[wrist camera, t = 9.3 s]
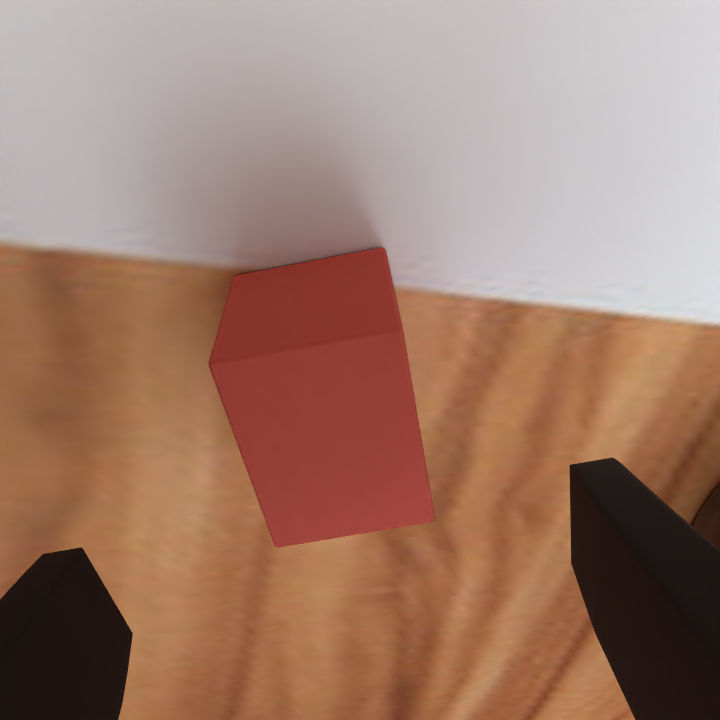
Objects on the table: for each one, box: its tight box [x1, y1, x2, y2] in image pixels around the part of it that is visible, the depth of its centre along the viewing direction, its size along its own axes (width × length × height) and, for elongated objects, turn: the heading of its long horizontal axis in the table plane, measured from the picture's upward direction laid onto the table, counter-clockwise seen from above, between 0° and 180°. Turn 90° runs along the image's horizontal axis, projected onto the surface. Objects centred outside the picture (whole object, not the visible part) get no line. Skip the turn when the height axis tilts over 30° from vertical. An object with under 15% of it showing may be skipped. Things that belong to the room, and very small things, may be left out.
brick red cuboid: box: [209, 248, 435, 547], centre depth 13 cm, size 4×3×4 cm
